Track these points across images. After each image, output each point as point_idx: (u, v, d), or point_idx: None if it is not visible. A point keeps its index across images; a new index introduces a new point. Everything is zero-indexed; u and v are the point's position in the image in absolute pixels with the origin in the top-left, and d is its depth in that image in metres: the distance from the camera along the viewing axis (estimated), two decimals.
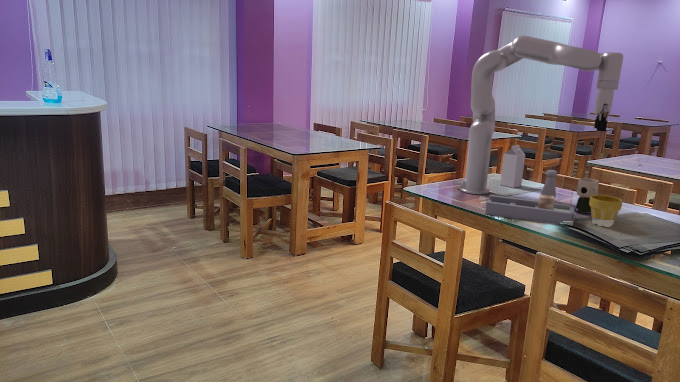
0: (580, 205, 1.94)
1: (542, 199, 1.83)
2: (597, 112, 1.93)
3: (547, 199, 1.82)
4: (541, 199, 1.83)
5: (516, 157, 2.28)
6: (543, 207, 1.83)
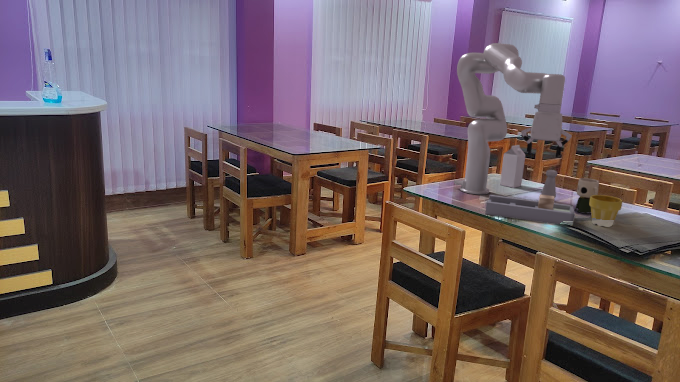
0: (580, 205, 1.94)
1: (542, 199, 1.83)
2: (558, 138, 1.81)
3: (547, 199, 1.82)
4: (541, 199, 1.83)
5: (516, 157, 2.28)
6: (543, 207, 1.83)
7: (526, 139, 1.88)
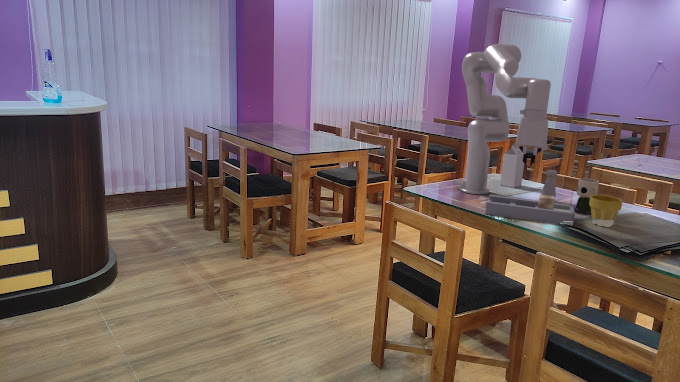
0: (580, 205, 1.94)
1: (542, 199, 1.83)
2: (545, 144, 1.79)
3: (547, 199, 1.82)
4: (541, 199, 1.83)
5: (516, 157, 2.28)
6: (543, 207, 1.83)
7: (522, 149, 1.83)
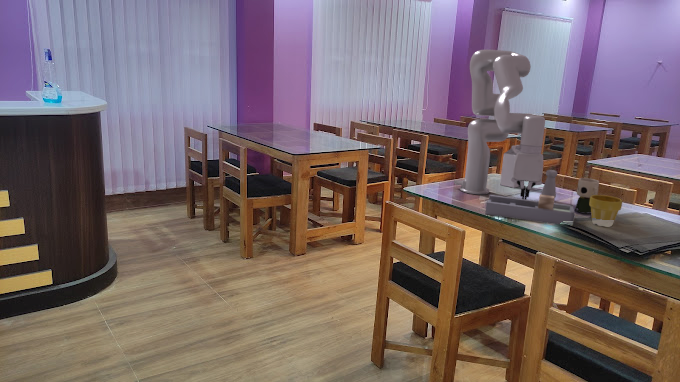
0: (580, 205, 1.94)
1: (542, 199, 1.83)
2: (540, 179, 1.82)
3: (547, 199, 1.82)
4: (541, 199, 1.83)
5: None
6: (543, 207, 1.83)
7: (520, 184, 1.86)
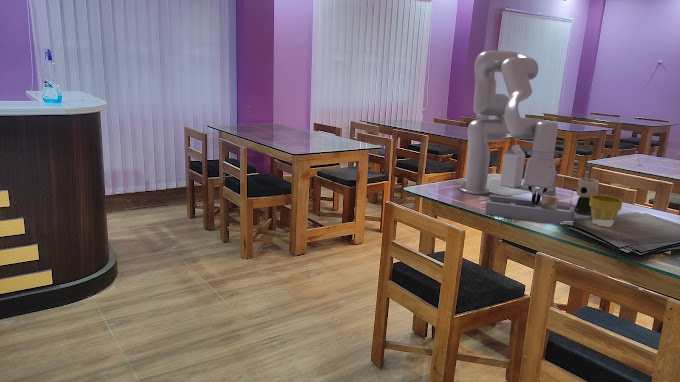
0: (580, 205, 1.94)
1: (545, 199, 1.82)
2: (552, 185, 1.81)
3: (550, 199, 1.82)
4: (544, 199, 1.83)
5: (516, 157, 2.28)
6: (546, 207, 1.83)
7: (531, 189, 1.85)
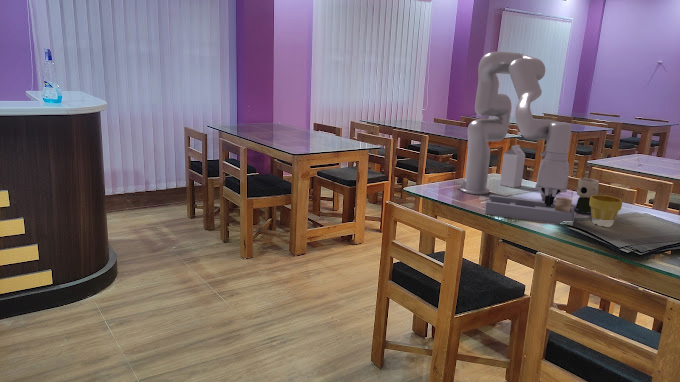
0: (580, 205, 1.94)
1: (559, 201, 1.81)
2: (566, 187, 1.79)
3: (564, 201, 1.80)
4: (558, 201, 1.81)
5: (516, 157, 2.28)
6: (560, 209, 1.81)
7: (544, 191, 1.84)
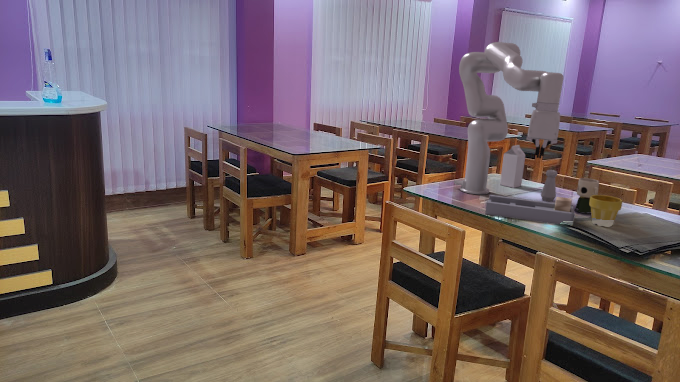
0: (580, 205, 1.94)
1: (559, 201, 1.81)
2: (556, 137, 1.80)
3: (564, 201, 1.80)
4: (558, 201, 1.81)
5: (516, 157, 2.28)
6: (560, 209, 1.81)
7: (535, 142, 1.85)
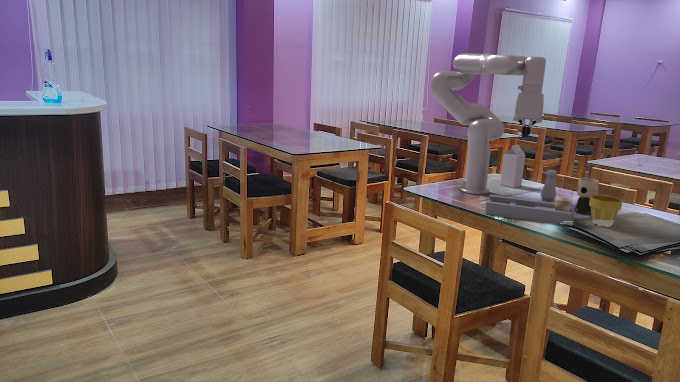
0: (580, 205, 1.94)
1: (559, 201, 1.81)
2: (541, 117, 1.94)
3: (564, 201, 1.80)
4: (558, 201, 1.81)
5: (516, 157, 2.28)
6: (560, 209, 1.81)
7: (521, 122, 1.98)
